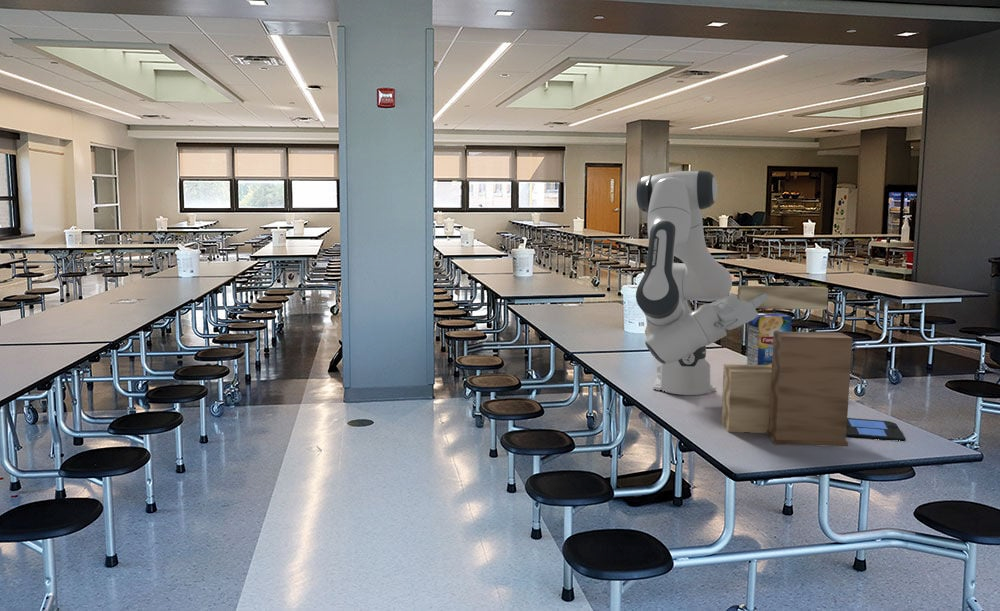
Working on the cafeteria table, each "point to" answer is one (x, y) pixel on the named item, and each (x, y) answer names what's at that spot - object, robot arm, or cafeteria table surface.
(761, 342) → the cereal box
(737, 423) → the oak stand
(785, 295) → the maple batten
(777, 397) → the walnut block
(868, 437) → the game console
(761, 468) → the cafeteria table surface
